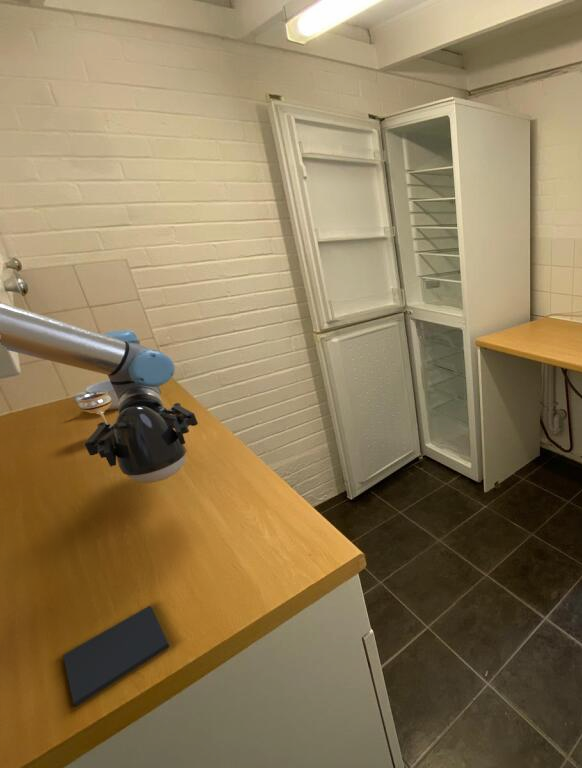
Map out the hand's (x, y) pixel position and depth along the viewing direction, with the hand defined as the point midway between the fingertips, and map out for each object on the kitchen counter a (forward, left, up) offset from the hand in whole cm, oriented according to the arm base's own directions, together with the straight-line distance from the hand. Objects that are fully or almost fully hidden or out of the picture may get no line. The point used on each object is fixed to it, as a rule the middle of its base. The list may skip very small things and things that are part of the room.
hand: (146, 448), depth 77 cm
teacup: (-59, +62, -18) cm, 87 cm away
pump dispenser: (-3, +4, -9) cm, 10 cm away
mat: (+8, -28, -18) cm, 34 cm away
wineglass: (-46, +44, -18) cm, 66 cm away
